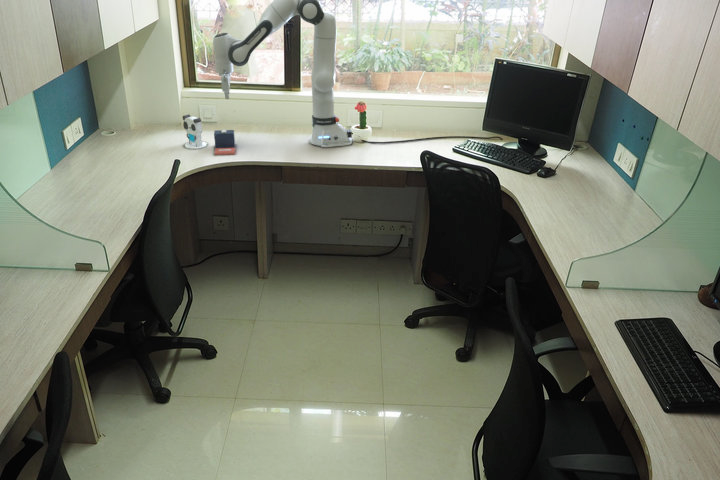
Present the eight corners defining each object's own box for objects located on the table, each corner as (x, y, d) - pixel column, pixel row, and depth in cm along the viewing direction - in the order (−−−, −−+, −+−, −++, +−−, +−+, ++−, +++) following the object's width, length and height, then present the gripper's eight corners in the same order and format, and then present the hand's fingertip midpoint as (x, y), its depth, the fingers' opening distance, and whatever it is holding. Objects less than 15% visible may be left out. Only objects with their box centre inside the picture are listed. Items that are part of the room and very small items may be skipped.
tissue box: (235, 144, 326) (233, 128, 322) (235, 148, 321) (233, 132, 317) (216, 145, 325) (214, 129, 321) (215, 149, 320) (213, 132, 316)
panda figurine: (179, 145, 326) (175, 116, 317) (197, 140, 332) (194, 112, 324) (193, 150, 319) (189, 121, 311) (211, 145, 326) (207, 116, 317)
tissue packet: (235, 149, 320) (234, 147, 319) (234, 154, 314) (234, 151, 313) (215, 150, 319) (215, 147, 318) (215, 155, 313) (214, 152, 312)
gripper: (230, 72, 299) (233, 101, 307) (231, 63, 316) (233, 91, 324) (217, 73, 299) (220, 102, 306) (218, 64, 316) (221, 91, 323)
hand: (227, 96), depth 315 cm, fingers open, 8 cm apart
